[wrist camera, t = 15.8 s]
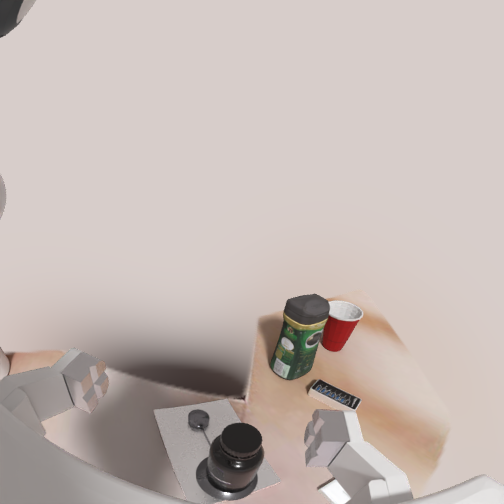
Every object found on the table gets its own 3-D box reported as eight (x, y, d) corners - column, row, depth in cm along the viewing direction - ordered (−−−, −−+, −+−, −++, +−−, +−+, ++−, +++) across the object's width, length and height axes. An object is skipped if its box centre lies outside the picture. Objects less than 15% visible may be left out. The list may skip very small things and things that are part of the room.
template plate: (192, 512, 22) (192, 508, 21) (153, 412, 39) (153, 405, 39) (281, 485, 29) (285, 480, 28) (226, 401, 46) (227, 394, 45)
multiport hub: (315, 385, 54) (319, 378, 53) (358, 406, 48) (362, 399, 47) (306, 395, 51) (309, 388, 50) (351, 418, 44) (355, 410, 44)
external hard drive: (395, 482, 28) (348, 522, 21) (366, 457, 34) (316, 491, 28) (400, 477, 27) (352, 519, 21) (370, 452, 34) (320, 487, 27)
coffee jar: (292, 354, 65) (311, 287, 60) (315, 371, 59) (339, 302, 54) (263, 365, 59) (280, 293, 54) (286, 385, 53) (309, 311, 48)
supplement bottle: (205, 493, 25) (210, 458, 22) (205, 457, 32) (211, 413, 28) (255, 494, 26) (274, 459, 23) (251, 459, 33) (266, 416, 29)
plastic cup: (306, 336, 74) (317, 298, 71) (338, 334, 76) (350, 299, 73) (322, 359, 64) (336, 318, 60) (356, 355, 66) (371, 317, 63)
